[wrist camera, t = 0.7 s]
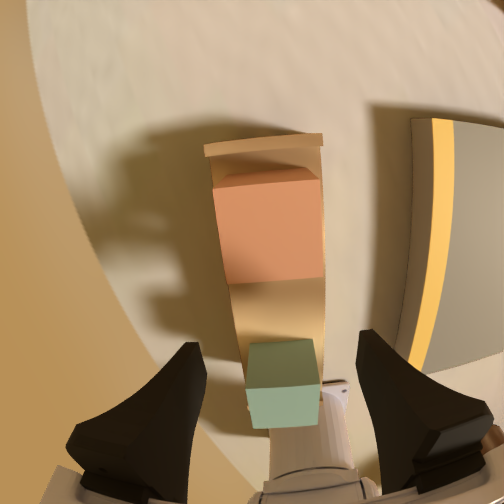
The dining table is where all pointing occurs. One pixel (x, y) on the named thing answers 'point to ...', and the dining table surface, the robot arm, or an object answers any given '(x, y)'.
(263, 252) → the brick block
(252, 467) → the dining table surface
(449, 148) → the dock
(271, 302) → the tan piece
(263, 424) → the green cube
